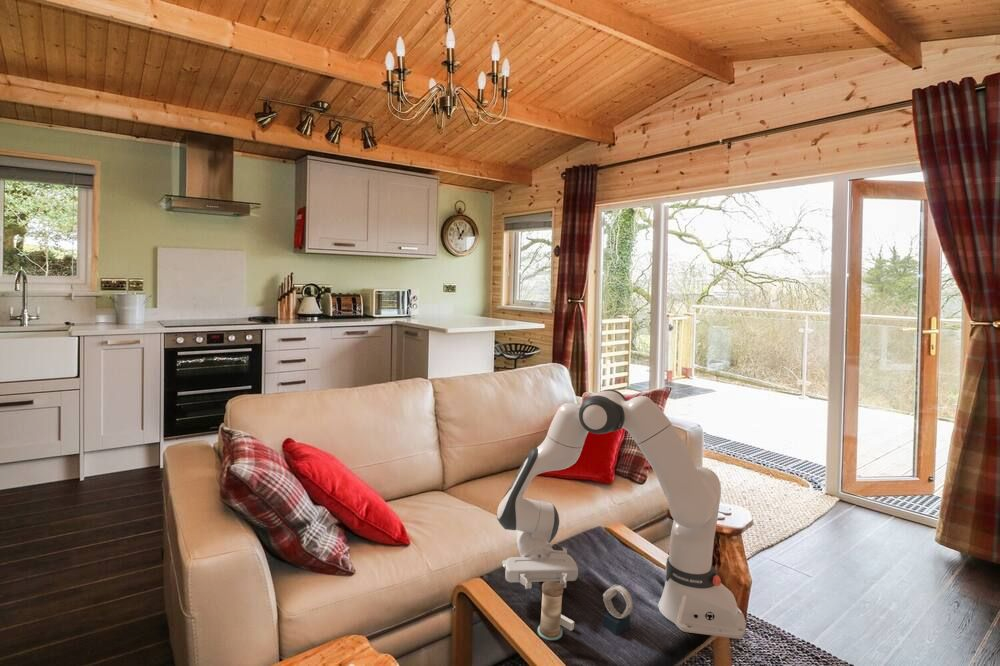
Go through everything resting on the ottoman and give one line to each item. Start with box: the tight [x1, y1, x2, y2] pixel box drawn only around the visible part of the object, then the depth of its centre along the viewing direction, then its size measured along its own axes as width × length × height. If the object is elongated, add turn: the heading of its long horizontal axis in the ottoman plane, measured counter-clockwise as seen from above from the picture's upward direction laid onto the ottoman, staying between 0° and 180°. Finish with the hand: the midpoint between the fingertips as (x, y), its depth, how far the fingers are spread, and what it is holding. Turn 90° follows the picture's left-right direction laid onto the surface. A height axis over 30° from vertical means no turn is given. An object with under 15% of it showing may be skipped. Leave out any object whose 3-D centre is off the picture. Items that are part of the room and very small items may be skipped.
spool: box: [539, 581, 564, 638], centre depth 145 cm, size 5×5×12 cm
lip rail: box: [560, 613, 575, 632], centre depth 149 cm, size 7×1×2 cm, turn 47°
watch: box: [602, 583, 634, 636], centre depth 148 cm, size 6×8×11 cm
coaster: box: [537, 625, 564, 641], centre depth 145 cm, size 6×6×1 cm
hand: (546, 586), depth 151 cm, fingers open, 8 cm apart
